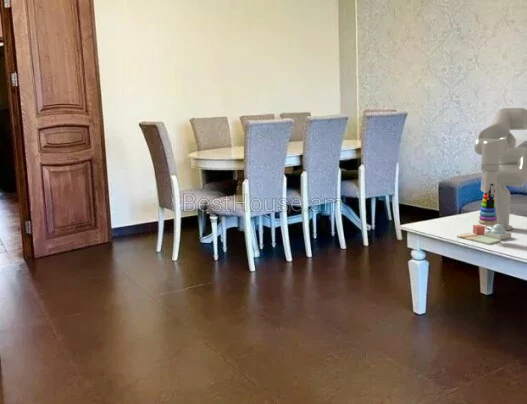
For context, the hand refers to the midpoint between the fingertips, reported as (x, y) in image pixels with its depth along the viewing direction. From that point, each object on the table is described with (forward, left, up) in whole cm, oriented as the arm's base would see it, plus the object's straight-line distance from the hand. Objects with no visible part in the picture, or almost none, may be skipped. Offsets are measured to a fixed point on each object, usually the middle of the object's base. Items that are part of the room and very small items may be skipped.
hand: (488, 206), depth 248 cm
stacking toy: (0, 0, -8) cm, 8 cm away
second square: (0, 0, -16) cm, 16 cm away
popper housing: (-8, +7, -16) cm, 19 cm away
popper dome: (-8, +7, -15) cm, 18 cm away
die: (-15, 0, -16) cm, 22 cm away
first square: (-7, -6, -16) cm, 19 cm away
